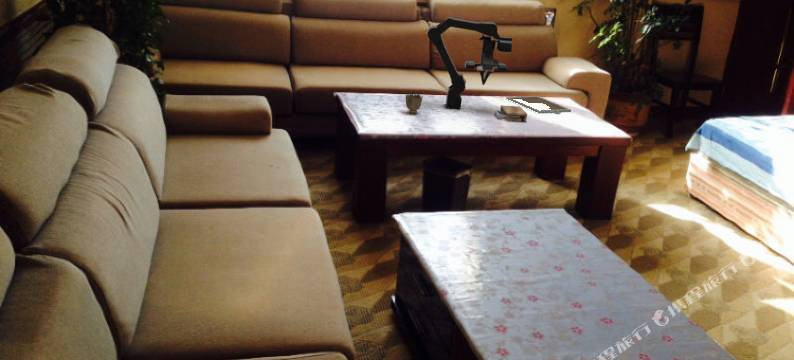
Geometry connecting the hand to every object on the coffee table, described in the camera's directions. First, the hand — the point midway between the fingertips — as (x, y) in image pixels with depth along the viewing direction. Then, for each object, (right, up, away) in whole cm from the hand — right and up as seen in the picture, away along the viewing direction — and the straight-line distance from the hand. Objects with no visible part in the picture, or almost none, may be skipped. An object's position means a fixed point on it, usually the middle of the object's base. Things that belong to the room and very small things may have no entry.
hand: (483, 84), depth 296 cm
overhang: (+13, -16, -5) cm, 21 cm away
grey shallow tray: (+10, -15, -5) cm, 19 cm away
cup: (-33, -14, -10) cm, 37 cm away
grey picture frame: (+30, -8, +21) cm, 37 cm away
